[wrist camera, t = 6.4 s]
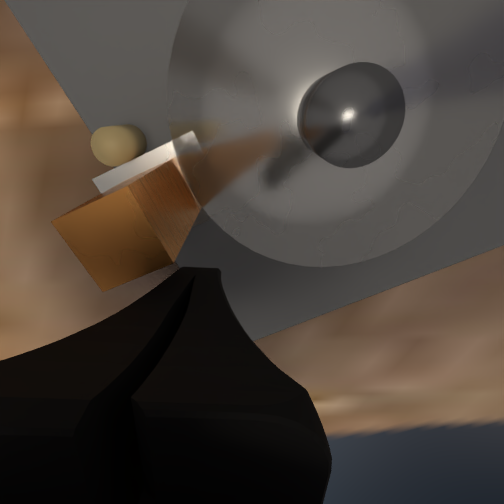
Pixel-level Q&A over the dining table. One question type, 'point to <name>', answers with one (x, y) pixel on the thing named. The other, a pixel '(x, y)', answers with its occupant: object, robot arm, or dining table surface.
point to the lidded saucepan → (305, 133)
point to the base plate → (209, 233)
